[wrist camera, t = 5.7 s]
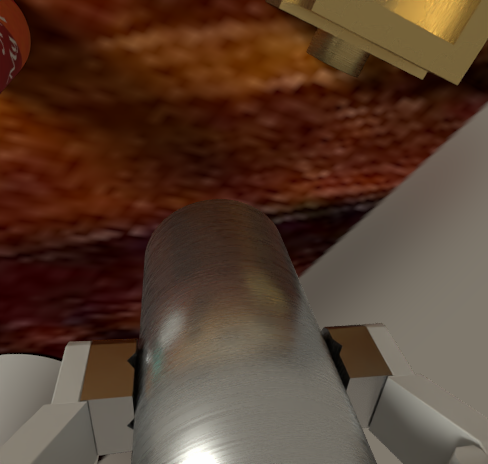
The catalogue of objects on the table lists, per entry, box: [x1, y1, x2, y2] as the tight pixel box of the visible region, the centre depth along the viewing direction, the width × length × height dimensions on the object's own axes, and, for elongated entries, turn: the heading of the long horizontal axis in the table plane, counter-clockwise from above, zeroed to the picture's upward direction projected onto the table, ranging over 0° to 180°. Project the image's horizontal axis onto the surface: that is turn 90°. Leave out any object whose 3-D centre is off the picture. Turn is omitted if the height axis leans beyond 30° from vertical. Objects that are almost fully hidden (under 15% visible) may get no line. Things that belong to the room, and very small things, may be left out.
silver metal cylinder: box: [131, 199, 377, 464], centre depth 10 cm, size 4×4×9 cm
